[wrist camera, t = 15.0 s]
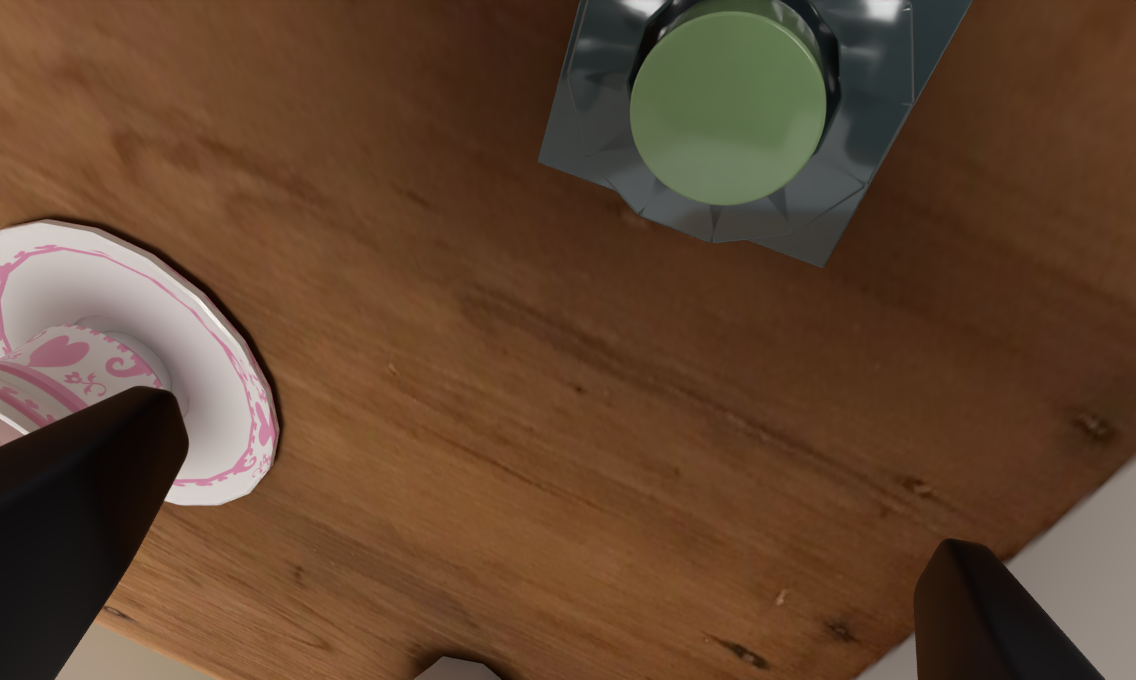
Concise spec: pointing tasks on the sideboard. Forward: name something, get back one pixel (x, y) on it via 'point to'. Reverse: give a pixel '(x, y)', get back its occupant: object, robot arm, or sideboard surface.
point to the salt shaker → (457, 671)
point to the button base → (843, 155)
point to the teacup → (128, 351)
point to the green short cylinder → (730, 101)
